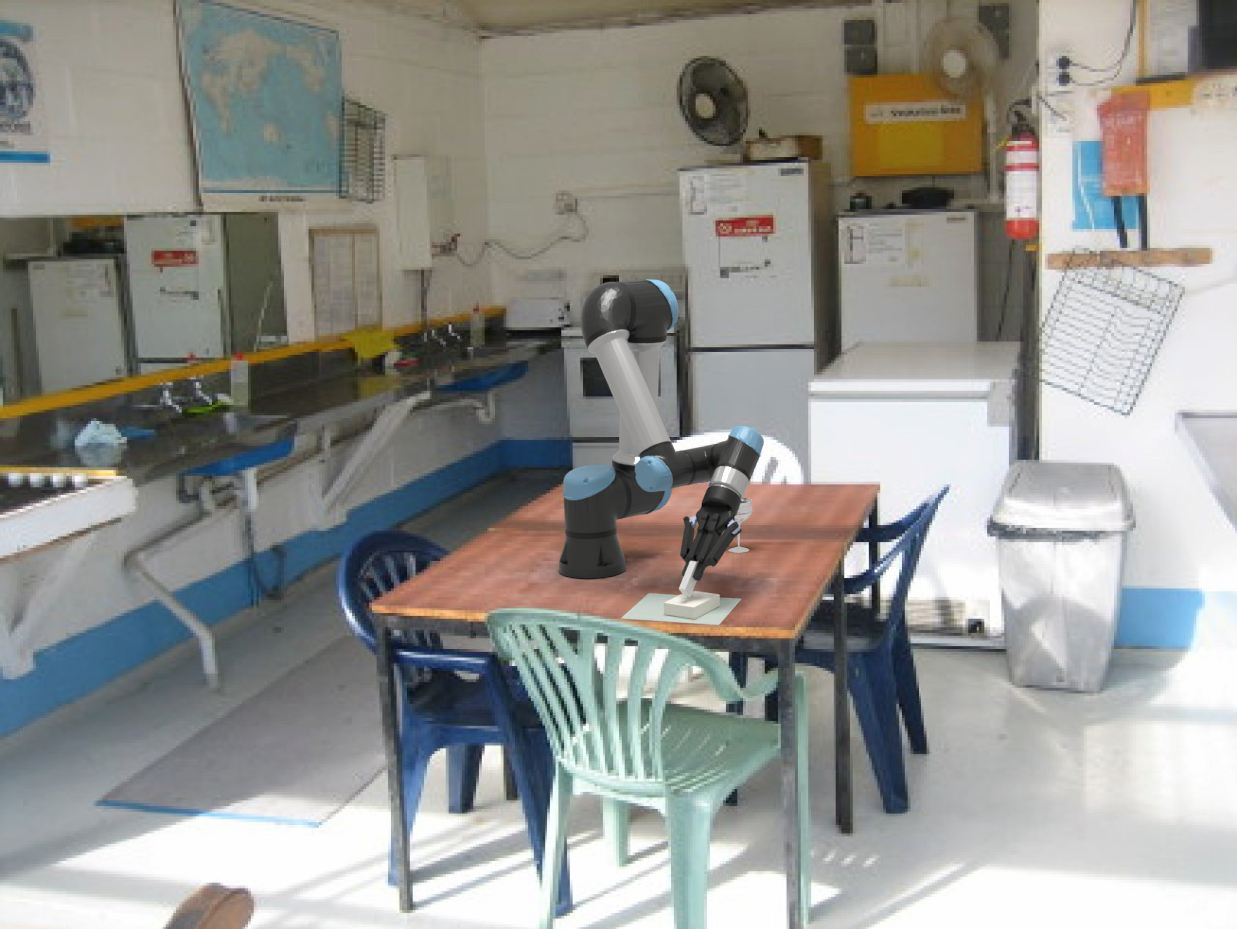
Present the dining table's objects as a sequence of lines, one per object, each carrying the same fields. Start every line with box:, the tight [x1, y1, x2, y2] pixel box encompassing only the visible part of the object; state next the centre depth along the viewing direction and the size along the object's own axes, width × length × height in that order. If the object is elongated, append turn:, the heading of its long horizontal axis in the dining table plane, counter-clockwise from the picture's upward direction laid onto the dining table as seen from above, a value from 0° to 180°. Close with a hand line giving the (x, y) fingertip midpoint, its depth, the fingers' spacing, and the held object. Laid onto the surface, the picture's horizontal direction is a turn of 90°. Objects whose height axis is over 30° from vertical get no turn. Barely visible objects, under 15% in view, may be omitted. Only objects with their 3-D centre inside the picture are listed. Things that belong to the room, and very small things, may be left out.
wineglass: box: [727, 497, 753, 554], centre depth 313 cm, size 7×7×12 cm
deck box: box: [664, 590, 721, 619], centre depth 265 cm, size 2×7×10 cm
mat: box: [620, 592, 742, 626], centre depth 267 cm, size 20×18×1 cm
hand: (684, 592), depth 263 cm, fingers closed
